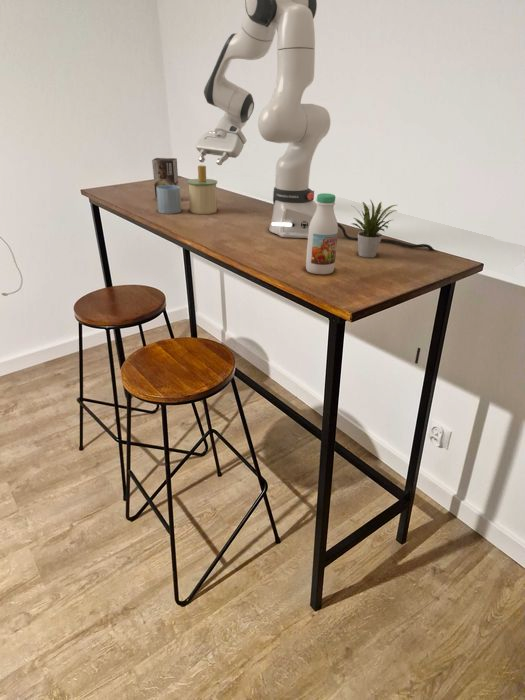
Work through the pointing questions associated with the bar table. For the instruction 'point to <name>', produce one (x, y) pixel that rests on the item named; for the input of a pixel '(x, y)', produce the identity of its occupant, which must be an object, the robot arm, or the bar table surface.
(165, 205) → the cup
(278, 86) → the robot arm
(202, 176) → the lid
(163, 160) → the coffee box
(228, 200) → the bar table surface
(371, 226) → the house plant
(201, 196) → the wooden container
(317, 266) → the milk bottle
